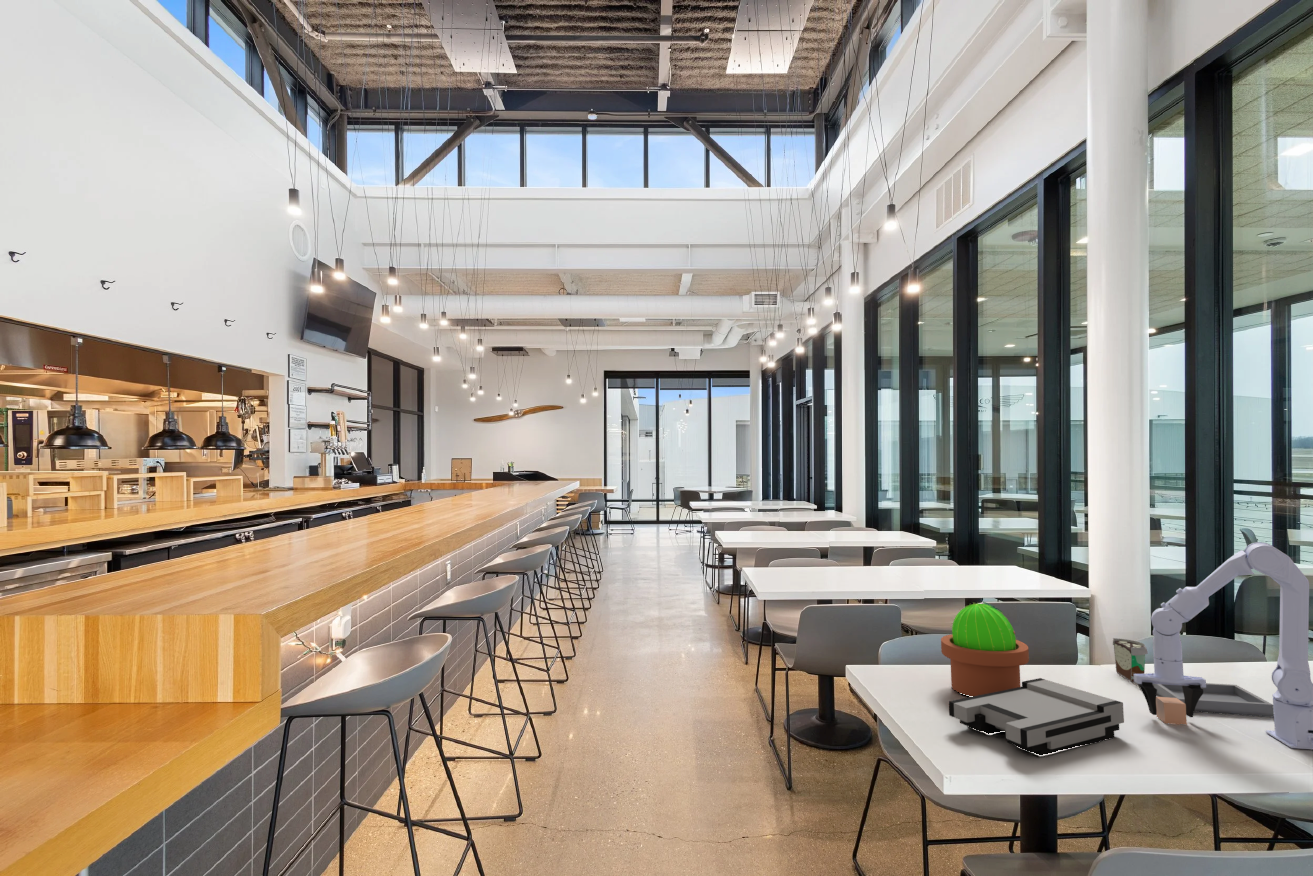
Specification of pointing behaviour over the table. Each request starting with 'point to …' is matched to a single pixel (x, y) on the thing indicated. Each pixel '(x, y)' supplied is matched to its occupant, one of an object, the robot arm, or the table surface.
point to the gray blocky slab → (1042, 715)
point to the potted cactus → (983, 651)
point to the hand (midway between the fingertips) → (1171, 714)
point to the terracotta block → (1171, 710)
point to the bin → (1222, 699)
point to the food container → (1129, 657)
